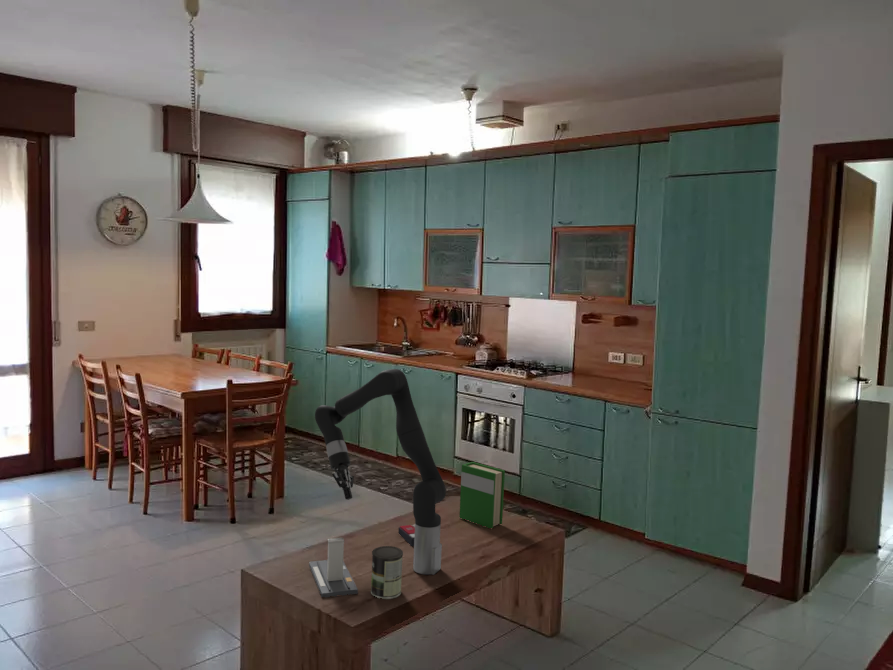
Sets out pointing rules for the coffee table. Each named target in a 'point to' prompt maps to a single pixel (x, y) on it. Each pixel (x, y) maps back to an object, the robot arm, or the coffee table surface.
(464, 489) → the hardback book
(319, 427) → the robot arm
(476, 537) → the coffee table surface
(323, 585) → the switch base
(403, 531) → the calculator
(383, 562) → the coffee can
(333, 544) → the switch tab
